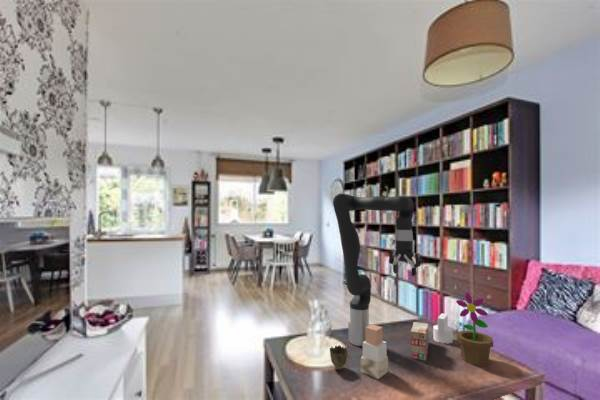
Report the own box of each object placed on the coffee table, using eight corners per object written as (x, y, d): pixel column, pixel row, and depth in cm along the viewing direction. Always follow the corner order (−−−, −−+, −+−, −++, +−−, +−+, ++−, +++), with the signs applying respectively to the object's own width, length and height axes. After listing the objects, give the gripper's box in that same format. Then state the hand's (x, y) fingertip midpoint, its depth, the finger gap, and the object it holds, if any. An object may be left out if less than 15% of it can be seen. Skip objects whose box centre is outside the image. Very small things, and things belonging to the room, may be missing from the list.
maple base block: (360, 372, 129) (360, 357, 129) (370, 365, 135) (370, 350, 135) (378, 379, 123) (378, 363, 124) (388, 371, 129) (388, 356, 129)
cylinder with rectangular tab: (435, 335, 167) (435, 312, 167) (454, 339, 162) (454, 315, 162) (431, 340, 160) (431, 316, 160) (450, 345, 154) (450, 320, 155)
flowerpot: (452, 360, 138) (451, 291, 139) (462, 350, 149) (461, 286, 150) (489, 372, 129) (488, 298, 129) (497, 360, 139) (496, 291, 140)
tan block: (365, 342, 129) (365, 327, 129) (371, 338, 133) (371, 324, 133) (376, 345, 126) (376, 330, 126) (382, 342, 130) (382, 327, 130)
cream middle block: (362, 357, 129) (362, 342, 129) (371, 351, 134) (371, 337, 134) (378, 362, 124) (378, 347, 125) (386, 356, 130) (386, 341, 130)
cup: (336, 374, 127) (336, 354, 127) (326, 366, 133) (326, 347, 133) (351, 370, 130) (351, 350, 130) (341, 362, 137) (341, 344, 137)
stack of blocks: (415, 340, 160) (415, 315, 160) (428, 342, 158) (428, 317, 158) (411, 358, 141) (410, 330, 141) (426, 361, 138) (425, 332, 138)
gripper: (386, 238, 149) (386, 273, 148) (415, 241, 139) (416, 278, 138) (393, 237, 154) (394, 271, 154) (422, 239, 144) (423, 275, 144)
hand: (404, 274), depth 146 cm, fingers open, 8 cm apart
